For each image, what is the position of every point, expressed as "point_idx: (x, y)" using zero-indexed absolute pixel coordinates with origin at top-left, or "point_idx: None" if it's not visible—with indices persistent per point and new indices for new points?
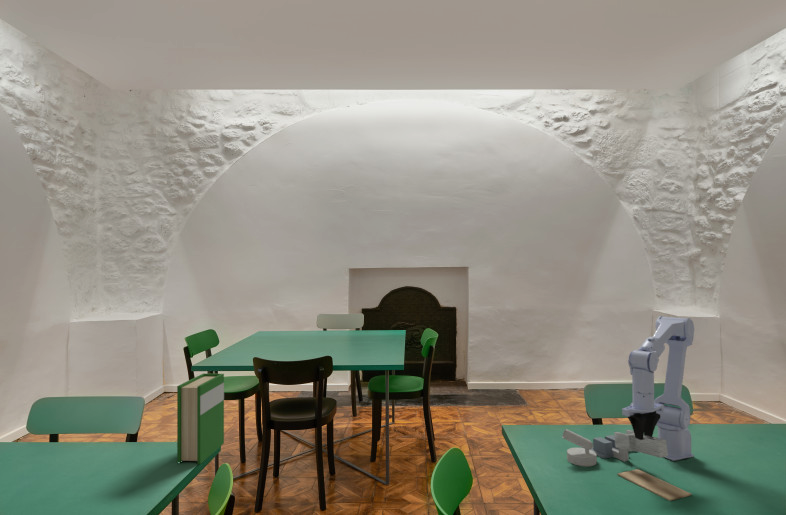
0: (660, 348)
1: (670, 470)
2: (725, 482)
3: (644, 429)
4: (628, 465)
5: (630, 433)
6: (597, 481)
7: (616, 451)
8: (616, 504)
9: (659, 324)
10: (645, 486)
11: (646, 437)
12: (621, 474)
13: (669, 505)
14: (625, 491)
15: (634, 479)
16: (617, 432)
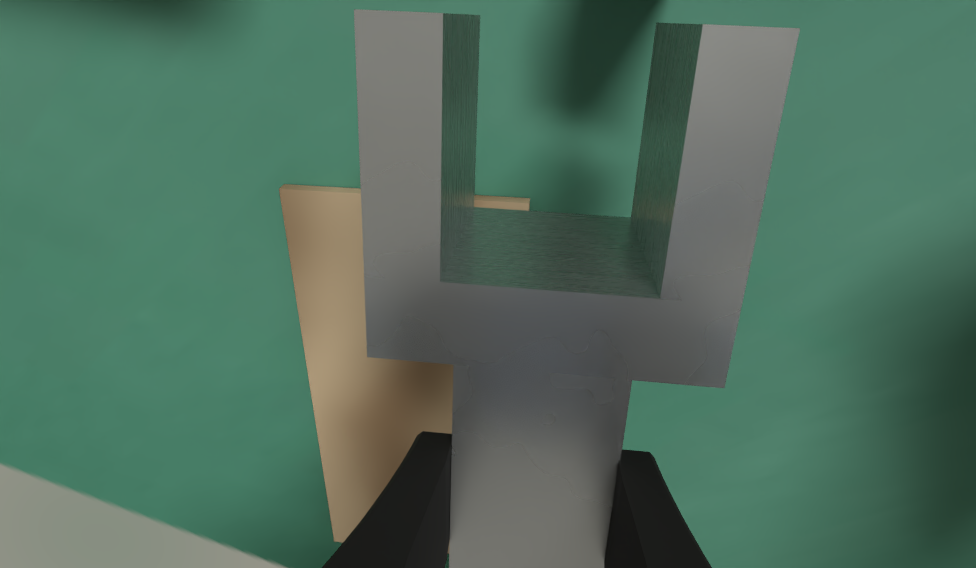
0: None
1: (794, 316)
2: (897, 564)
3: (630, 538)
4: (553, 74)
5: (676, 147)
6: (50, 197)
7: None
8: (21, 442)
9: None
10: (324, 410)
11: (490, 564)
12: (300, 217)
13: (297, 551)
14: (166, 377)
15: (334, 318)
16: (400, 68)
